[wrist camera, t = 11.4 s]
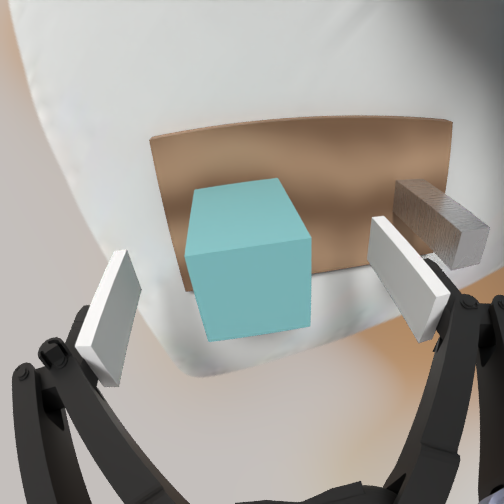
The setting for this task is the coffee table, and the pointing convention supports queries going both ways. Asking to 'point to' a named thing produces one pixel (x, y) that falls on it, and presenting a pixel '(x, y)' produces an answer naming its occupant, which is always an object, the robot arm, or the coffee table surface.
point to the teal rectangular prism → (248, 260)
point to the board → (308, 174)
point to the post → (440, 222)
